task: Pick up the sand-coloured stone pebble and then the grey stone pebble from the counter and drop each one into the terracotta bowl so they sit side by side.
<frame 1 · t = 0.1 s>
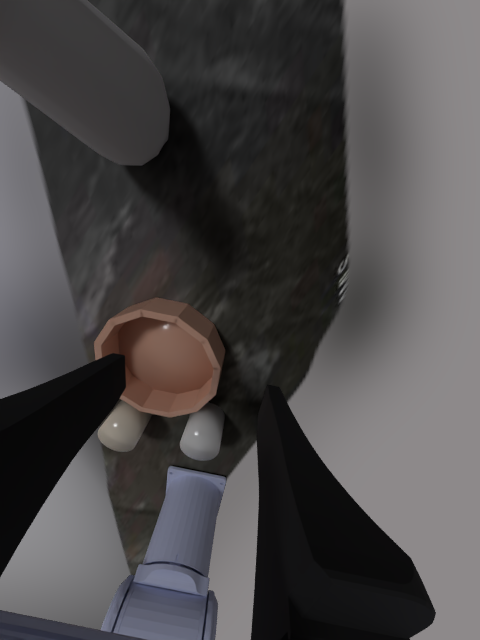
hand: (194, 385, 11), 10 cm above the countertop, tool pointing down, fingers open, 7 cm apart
bowl: (169, 351, 22), on the countertop
pebble a: (136, 408, 26), on the countertop
salt shaker: (141, 124, 15), on the countertop
pebble b: (208, 415, 26), on the countertop
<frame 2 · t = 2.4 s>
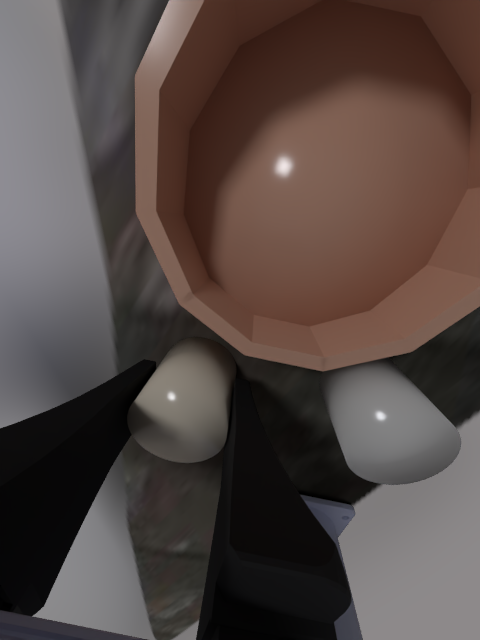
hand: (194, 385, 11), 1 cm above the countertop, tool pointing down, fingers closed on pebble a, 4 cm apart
bowl: (314, 203, 9), on the countertop
pebble a: (201, 368, 12), on the countertop, touching gripper
pebble b: (357, 381, 12), on the countertop
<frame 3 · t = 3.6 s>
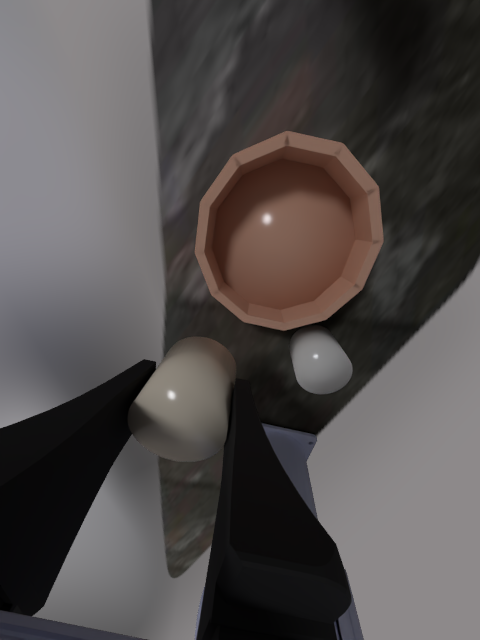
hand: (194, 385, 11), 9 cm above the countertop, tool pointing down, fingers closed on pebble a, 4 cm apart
bowl: (280, 243, 16), on the countertop
pebble a: (200, 368, 12), point 8 cm above the countertop, touching gripper
pebble b: (311, 345, 20), on the countertop
when the fingers open (4 cm above the countertop, at t = 5.3 s): pebble a drops 2 cm, resting on bowl.
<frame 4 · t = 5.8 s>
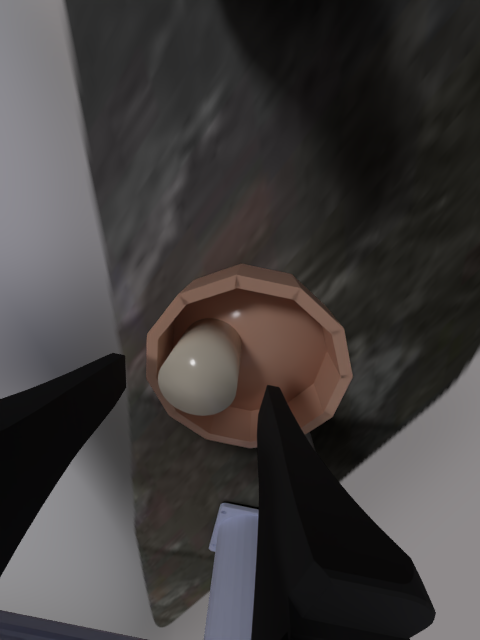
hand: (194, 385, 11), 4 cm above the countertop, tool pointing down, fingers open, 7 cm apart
bowl: (247, 349, 15), on the countertop
pebble a: (212, 345, 15), resting on bowl
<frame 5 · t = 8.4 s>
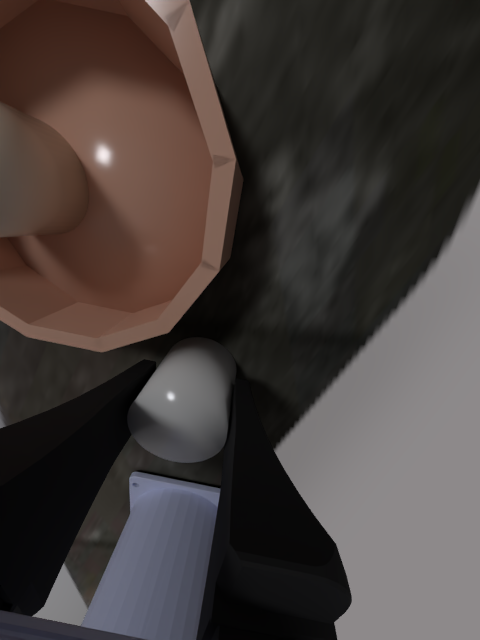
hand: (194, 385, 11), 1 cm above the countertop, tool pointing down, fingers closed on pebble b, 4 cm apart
bowl: (104, 193, 9), on the countertop
pebble a: (39, 180, 9), resting on bowl
pebble b: (201, 368, 12), on the countertop, touching gripper
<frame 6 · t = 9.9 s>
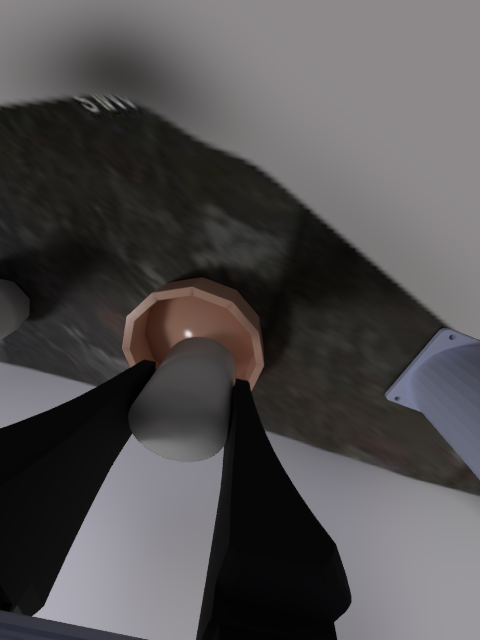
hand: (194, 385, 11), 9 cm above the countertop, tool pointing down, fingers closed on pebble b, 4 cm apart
bowl: (201, 338, 20), on the countertop
salt shaker: (11, 298, 21), on the countertop
pebble b: (201, 368, 12), point 8 cm above the countertop, touching gripper
when the fingers open (4 cm above the countertop, at t = 11.3 s): pebble b drops 3 cm, resting on bowl.
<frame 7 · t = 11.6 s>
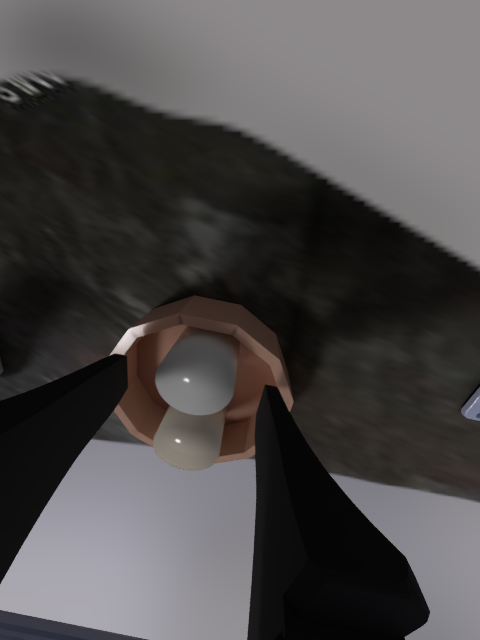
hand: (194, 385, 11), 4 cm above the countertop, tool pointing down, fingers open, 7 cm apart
bowl: (206, 371, 16), on the countertop
pebble a: (201, 399, 17), resting on bowl
pebble b: (210, 345, 15), resting on bowl
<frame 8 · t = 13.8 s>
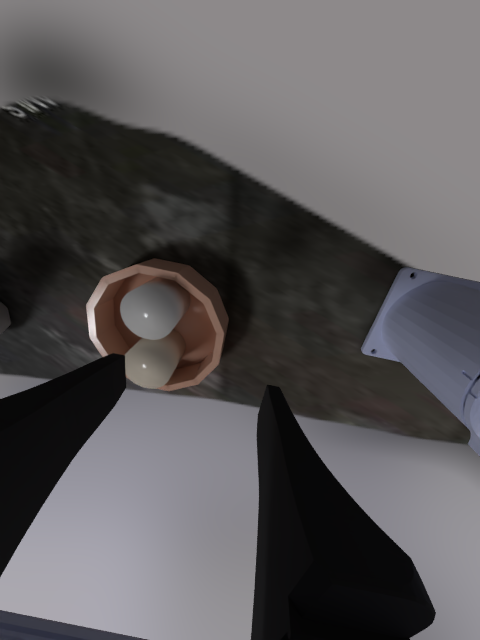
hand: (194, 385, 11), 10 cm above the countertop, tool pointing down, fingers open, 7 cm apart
bowl: (168, 320, 21), on the countertop
pebble a: (165, 344, 21), resting on bowl
pebble b: (168, 297, 19), resting on bowl
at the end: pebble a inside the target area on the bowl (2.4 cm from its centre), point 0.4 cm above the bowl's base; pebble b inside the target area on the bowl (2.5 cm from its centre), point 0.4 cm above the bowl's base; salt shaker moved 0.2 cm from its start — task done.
